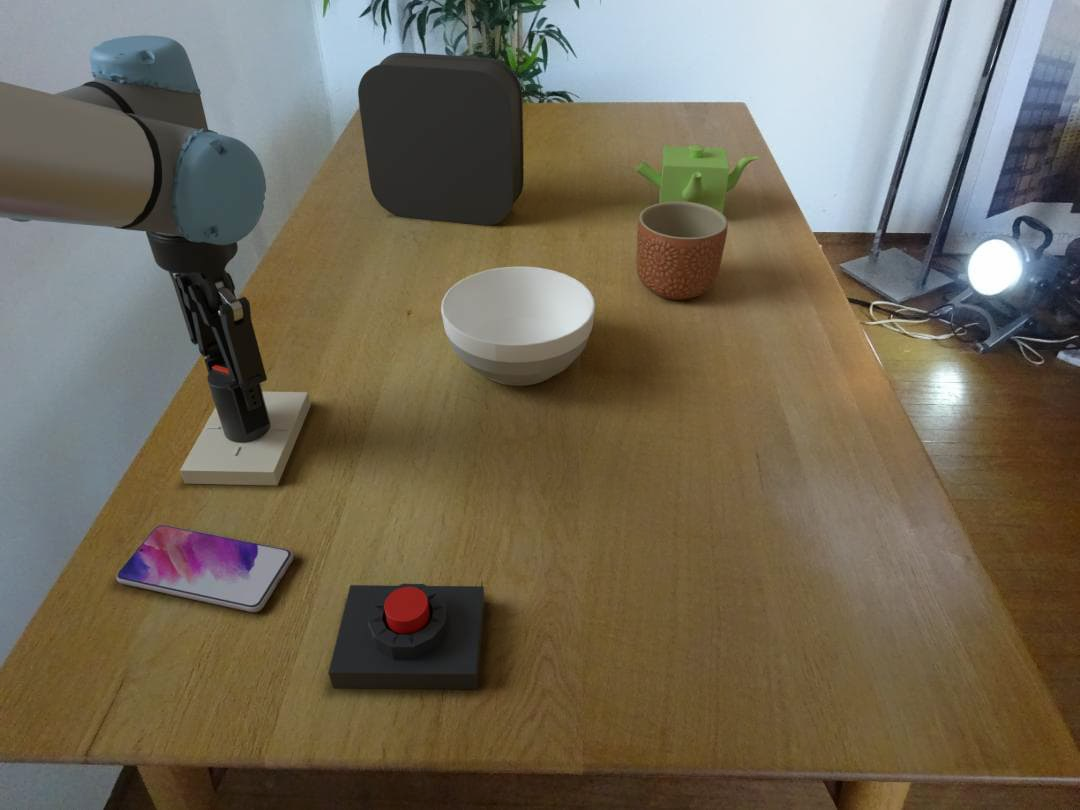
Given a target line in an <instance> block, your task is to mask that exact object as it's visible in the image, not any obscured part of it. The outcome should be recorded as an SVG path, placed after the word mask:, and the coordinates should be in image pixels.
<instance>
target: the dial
mask: <svg viewBox="0 0 1080 810" xmlns="http://www.w3.org/2000/svg"><path fill="white" fill-rule="evenodd" d="M206 381H207V383H208V387H209V390H210V393H211V396H212V399H213V403H214V406H215V407H216V409H217V412H218V416H219V419H220V422H221V425H222V428H223V431H224V435H225V437H226V438H227V439H229V440H230V441H233V442H238V443H244V442H250V441H254V440H256V439H259V438H261V437H262V436H264V435H265V434H266V433H267V432H268V431H269V429H270V426H271V423H270V419H269V415H268V412H267V408H266V404H265V400H264V397H263V393H262V391H263V388H262V385H261V383H259V386H260V390H261V394H262V397H263V401H264V405H265V409H266V412H267V416H268V420H269V424H268V425H266V426H264V427H261V428H259V429H257V430H255V431H253V432H251V433H249V434H247V435H246V434H245V433H244V432H243V429H242V425H241V422H240V419H239V415H238V412H237V408H236V405H235V402H234V398H233V395H232V391H230V390H229V389H228V388H227V386H226V383H229V382H231V381H232V379H231V376H230V373H229V371H228V368H227V366H226V363H223V364H221V365H214V366H213V367H212V370H211V371H210V373H208V374H207V378H206Z"/></svg>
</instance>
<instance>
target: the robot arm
mask: <svg viewBox="0 0 1080 810" xmlns="http://www.w3.org/2000/svg"><path fill="white" fill-rule="evenodd" d="M88 58H89V63H90V66H91V71H90V73H91V75H92V77H93V78H94V79H93V80H89V81H87V82H85V83H83V84H82V85H80V86H76V87H72V88H70V89H66V90H63V91H60V92H57V93H50V92H46V91H41V90H37V89H35V88H34V89H33V88H29V87H26V86H22V85H17V84H13V83H10V82H5V81H1V80H0V218H2V219H9V220H11V221H15V222H18V223H19V222H20V223H26V222H31V221H37V222H45V223H46V222H47V223H48V222H49V223H59V224H69V225H70V224H71V225H81V226H93V227H106V228H114V229H118V230H127V231H136V232H145V234H146V237H147V241H148V244H149V246H150V249H151V253H152V256H153V259H154V261H155V263H156V265H157V266H158V267H159V268H160V269H162V270H164V271H165V272H168V273H169V276H170V278H171V281H172V283H173V287H174V290H175V293H176V297H177V300H178V304H179V307H180V309H181V313H182V316H183V319H184V323H185V325H186V328H187V332H188V335H189V339H190V342H191V343H192V344H193V345H194V346H195V345H197V346H198V351H199V353H200V355H201V356H202V357H206V358H204V363H205V366H206V370H207V373H208V374H209V373H210V371H211V370H212V367H213V366H214V365H221V364H223V363H226V366H227V368H228V371H229V373H230V376H231V379H232V381H231V382H229V383H226V386H227V388H228V389H229V390H230V391H232V395H233V398H234V402H235V405H236V408H237V412H238V415H239V419H240V422H241V425H242V429H243V432H244V433H245V434H246V435H247V434H249V433H251V432H253V431H255V430H257V429H259V428H261V427H264V426H266V425H268V424H269V420H268V416H267V412H266V409H265V405H264V401H263V397H262V394H261V390H260V386H259V383H260V384H261V383H263V382H266V381H267V380H268V378H267V374H266V370H265V367H264V366H265V365H264V363H263V358H262V355H261V351H260V348H259V344H258V343H259V342H258V340H257V336H256V332H255V328H254V325H253V322H252V313H251V304H250V303H251V302H250V301H249V300H248V298H247V297H245V296H243V297H240V298H237V296H236V293H235V289H236V287H235V282H234V279H233V278H232V275H231V274H230V273H229V272H228V271H226V267H227V266H228V264H229V263H230V262H231V260H233V259H234V258H235V256H236V255H237V253H238V249H239V247H238V242H240V241H241V240H243V239H244V238H246V237H247V236H249V235H250V233H252V231H253V230H254V229H255V227H256V226H257V224H258V222H259V221H260V219H261V217H262V214H263V211H264V208H265V205H264V203H265V200H266V195H265V194H266V192H267V183H266V182H267V181H266V176H265V172H264V169H263V166H262V163H261V161H260V160H259V158H258V155H256V153H255V152H254V150H253V149H252V148H250V147H249V146H248V145H247V144H246V143H245V142H243V141H242V140H239V139H237V138H235V137H233V136H228V135H225V134H221V133H219V132H217V131H214V130H212V129H209V126H208V121H207V118H206V114H205V113H206V112H205V109H204V105H203V100H202V97H201V95H202V92H201V89H200V87H199V85H198V82H197V79H196V75H195V72H194V69H193V66H192V64H191V61H190V57H189V55H188V53H187V50H186V49H185V47H184V46H183V45H182V44H181V43H180V42H178V41H177V40H175V39H172V38H170V37H168V36H167V37H166V36H159V35H146V34H145V35H144V34H143V35H131V36H129V35H128V36H123V37H117V38H112V39H109V40H108V39H107V40H105V41H103V42H100V43H99V44H97V45H95V46H93V47H92V48H91V50H90V51H89V57H88Z"/></svg>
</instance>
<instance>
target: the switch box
mask: <svg viewBox="0 0 1080 810" xmlns="http://www.w3.org/2000/svg"><path fill="white" fill-rule="evenodd" d="M402 587H415V588H418V589H420V590H422V591H423V592H424V593H425V594H426V596H427V599H428V605H429V613H430V616H429V620H428V622H427V624H426V625H425V626H424V627H423V628H422V629H421V630H419V631H417V632H415V633H412V634H399V633H396V632H394V631H393V630H392V629H390V627H389V626H388V624H387V620H386V615H385V609H384V604H385V601H386V599H387V597H388V596H389V595H390V594H391V593H392V592H393V591H395V590H397V589H399V588H402ZM485 604H486V603H485V587H484V586H483V585H482V586H479V585H477V586H476V585H469V586H468V585H426V584H425V583H401V584H398V585H384V584H383V585H379V584H377V585H375V584H374V585H373V584H372V585H371V584H370V585H369V584H368V585H367V584H363V585H362V584H360V585H359V584H350V585H349V588H348V593H347V596H346V600H345V605H344V609H343V612H342V617H341V621H340V625H339V629H338V633H337V637H336V641H335V644H334V649H333V653H332V656H331V660H330V664H329V669H328V676H329V680H330V683H331V686H332V689H391V690H392V689H394V690H395V689H396V690H397V689H398V690H399V689H402V690H403V689H404V690H405V689H406V690H408V689H409V690H415V689H416V690H478V687H479V675H480V663H481V652H482V651H481V649H482V641H483V640H482V639H483V629H484V627H483V626H484V615H485Z"/></svg>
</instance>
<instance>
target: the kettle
mask: <svg viewBox="0 0 1080 810" xmlns="http://www.w3.org/2000/svg"><path fill="white" fill-rule="evenodd" d="M759 158H760V157H758V156H753V155H749V156H744V157H742V158H741V159H739V161H738V162H737V163H736V165H735V168H734V169H733V170H732V171H731V172H730V165H729V164H730V163H729V158H728V153H727V148H726V147H710V146H709V147H707V146H702V145H699V144H692V145H689V146H687V145H686V146H683V145H663V148H662V159H661V169H660V172H658V171H657V170H655V169H654V168H653V167H652V166H651V165H649V164H648V163H647V162H646V161H645V160H644V161H641V162H640V163H639V164H638V166H637V168H636V169H635V172H637V173H638V174H639V175H640V176H642V177H643V178H645V179H646V180H647V181H648V182H650V183H651V184H652V185H653V186H655V187H656V188H658V189H659V191H658V194H659V195H658V196H659V197H658V198H659V199H658V200H659V203H663V202H672V201H683V202H693V203H698V204H703V205H706V206H709V207H712V208H714V209H716V210H718V211H719V212H721V213H722V214H723V215H724V208H725V202H726V195H727V193H729V192H730V191H731V190H733V189H734V188H735V187H736V186H737V184H738V182H739V180H740V178H741V176H742V174H743V172H744V170H745V169H746V167H747V166H748V165H749V164H750V163H751V162H753V161H756V160H758V159H759Z"/></svg>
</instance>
